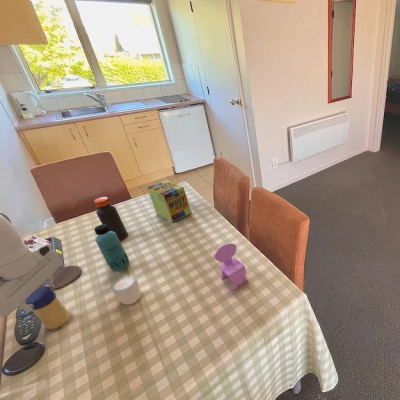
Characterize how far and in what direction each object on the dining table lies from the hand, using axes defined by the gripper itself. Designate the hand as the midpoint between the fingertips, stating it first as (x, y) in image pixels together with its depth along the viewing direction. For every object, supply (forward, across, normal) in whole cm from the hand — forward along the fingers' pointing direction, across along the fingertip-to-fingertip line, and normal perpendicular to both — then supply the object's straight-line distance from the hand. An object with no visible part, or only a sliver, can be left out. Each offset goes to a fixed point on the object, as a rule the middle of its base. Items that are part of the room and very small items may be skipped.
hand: (41, 298), depth 79 cm
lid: (+1, 0, 0) cm, 1 cm away
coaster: (+10, +19, +12) cm, 25 cm away
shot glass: (+10, +7, -19) cm, 23 cm away
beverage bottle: (+10, +22, -8) cm, 26 cm away
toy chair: (+10, +11, -53) cm, 55 cm away
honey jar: (+10, 0, 0) cm, 10 cm away
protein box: (+10, +61, -13) cm, 63 cm away
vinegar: (+10, +43, +4) cm, 44 cm away
